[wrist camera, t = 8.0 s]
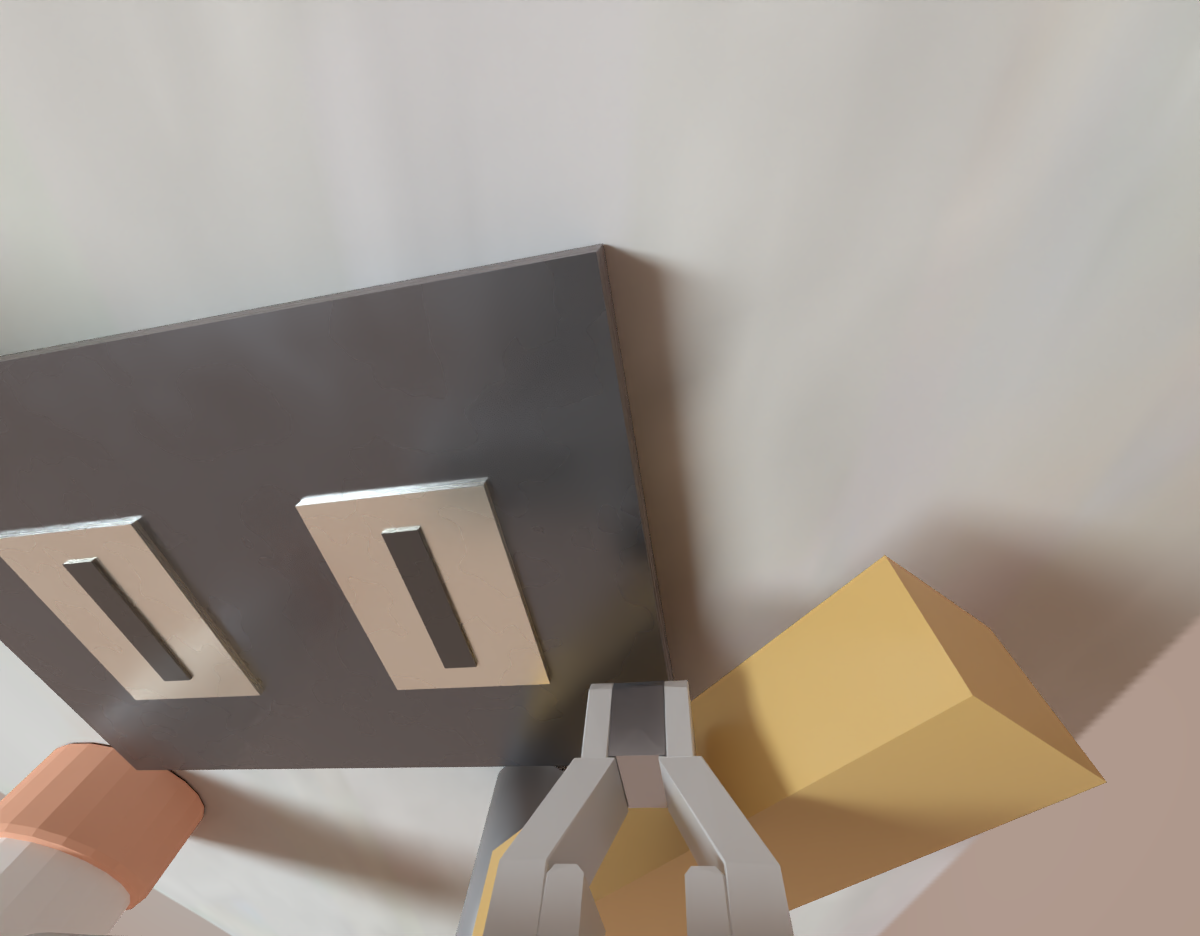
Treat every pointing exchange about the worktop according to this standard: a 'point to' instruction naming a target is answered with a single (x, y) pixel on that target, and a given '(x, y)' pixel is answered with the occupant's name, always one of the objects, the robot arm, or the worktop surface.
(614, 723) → the robot arm
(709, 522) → the worktop surface
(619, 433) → the board
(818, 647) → the tan piece
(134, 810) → the pepper shaker
